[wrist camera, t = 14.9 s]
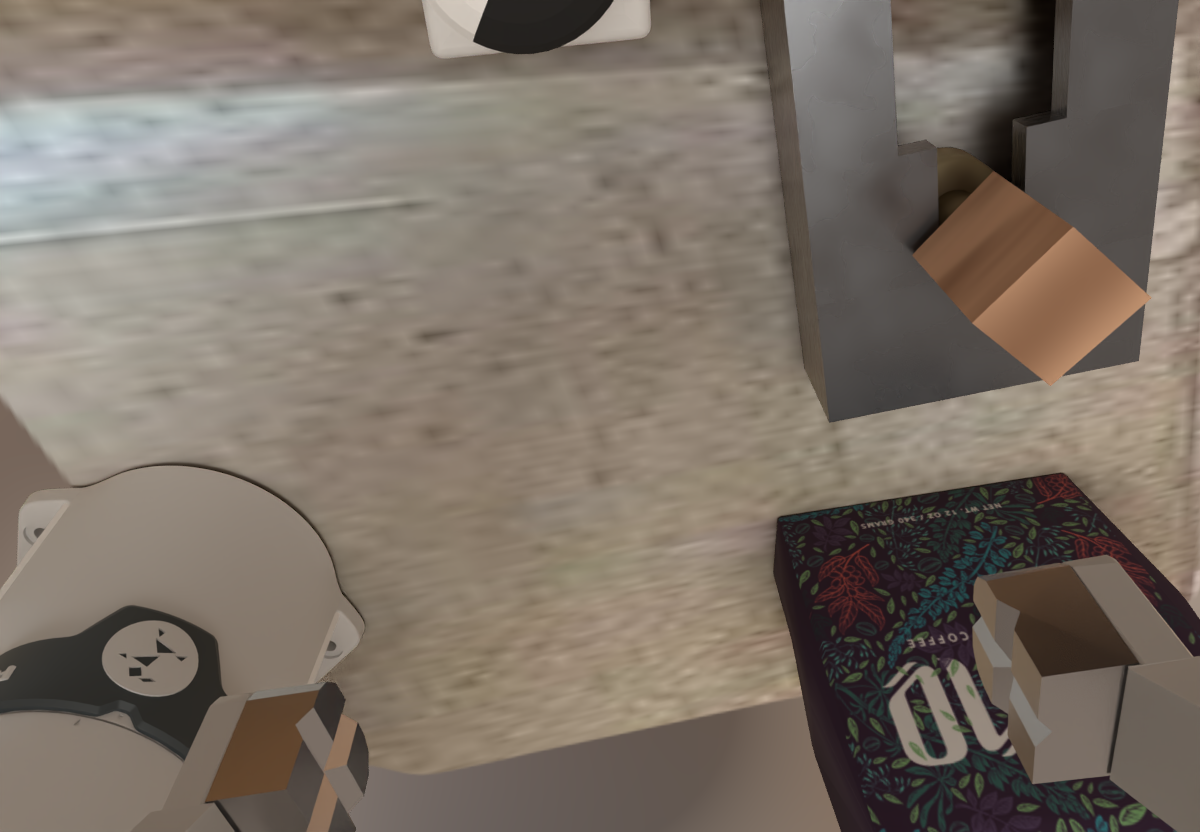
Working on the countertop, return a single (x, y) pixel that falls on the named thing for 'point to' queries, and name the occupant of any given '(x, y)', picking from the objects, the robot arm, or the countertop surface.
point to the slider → (1022, 269)
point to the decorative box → (940, 655)
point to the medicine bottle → (530, 24)
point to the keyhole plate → (910, 192)
